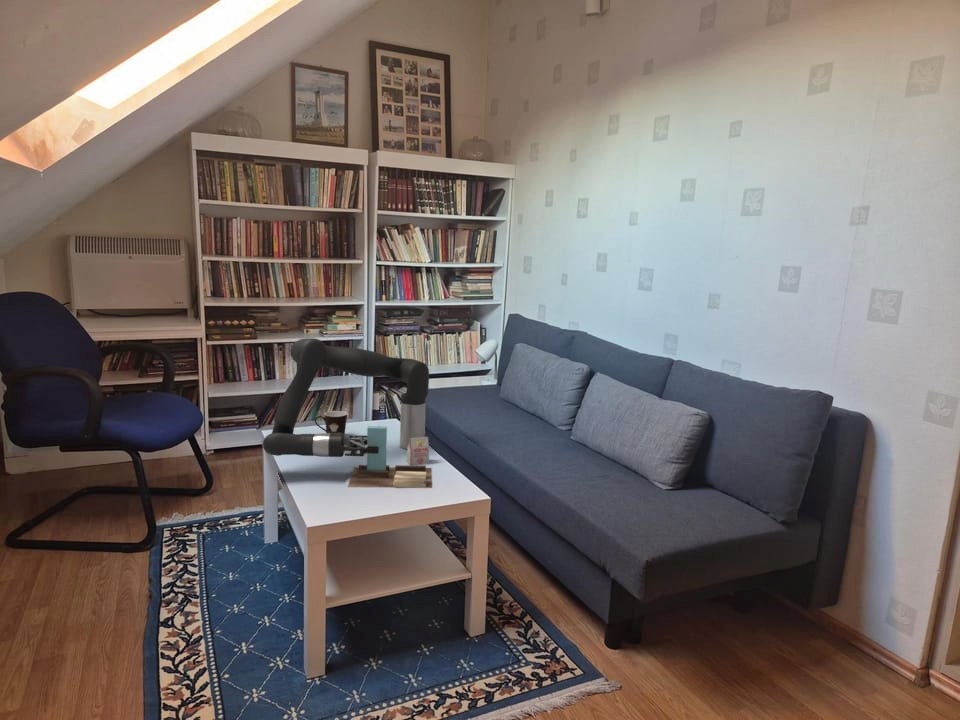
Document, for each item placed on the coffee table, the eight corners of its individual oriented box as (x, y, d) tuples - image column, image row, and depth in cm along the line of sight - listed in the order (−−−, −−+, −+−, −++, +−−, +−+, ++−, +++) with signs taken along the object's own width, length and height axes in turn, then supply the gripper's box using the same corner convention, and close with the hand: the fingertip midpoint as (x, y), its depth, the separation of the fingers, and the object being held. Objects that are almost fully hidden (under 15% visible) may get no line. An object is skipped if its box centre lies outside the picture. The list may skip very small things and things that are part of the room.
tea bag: (406, 464, 220) (407, 437, 218) (425, 462, 223) (425, 435, 221) (410, 468, 216) (410, 440, 215) (428, 466, 219) (429, 438, 218)
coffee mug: (351, 437, 247) (351, 412, 246) (338, 443, 240) (338, 417, 238) (327, 432, 252) (327, 408, 250) (313, 438, 244) (313, 413, 242)
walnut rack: (354, 469, 213) (354, 461, 212) (431, 470, 215) (431, 462, 214) (347, 490, 195) (347, 480, 194) (431, 490, 197) (432, 481, 197)
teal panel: (367, 473, 207) (368, 426, 204) (386, 473, 208) (386, 426, 205) (366, 475, 205) (367, 428, 202) (385, 475, 205) (386, 428, 203)
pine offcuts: (394, 480, 202) (394, 471, 202) (426, 480, 203) (426, 471, 202) (393, 487, 196) (393, 478, 195) (426, 487, 197) (426, 478, 196)
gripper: (325, 440, 195) (378, 441, 197) (332, 427, 209) (381, 428, 211) (325, 463, 197) (378, 464, 198) (332, 449, 211) (381, 449, 212)
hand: (379, 445), depth 205 cm, fingers open, 8 cm apart
